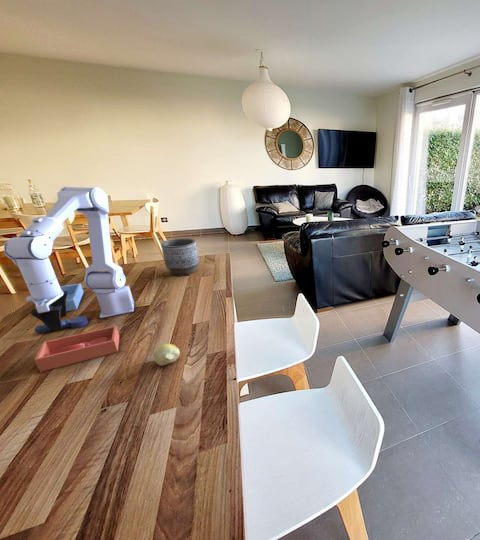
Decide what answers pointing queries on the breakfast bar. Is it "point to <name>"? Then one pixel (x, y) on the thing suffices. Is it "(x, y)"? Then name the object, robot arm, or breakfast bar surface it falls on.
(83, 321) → the navy spoon
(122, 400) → the breakfast bar surface
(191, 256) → the planter
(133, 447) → the breakfast bar surface
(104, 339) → the red spoon
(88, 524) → the breakfast bar surface
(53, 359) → the red bin
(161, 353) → the fruit
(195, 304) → the breakfast bar surface
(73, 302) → the blue bin
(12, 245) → the robot arm
